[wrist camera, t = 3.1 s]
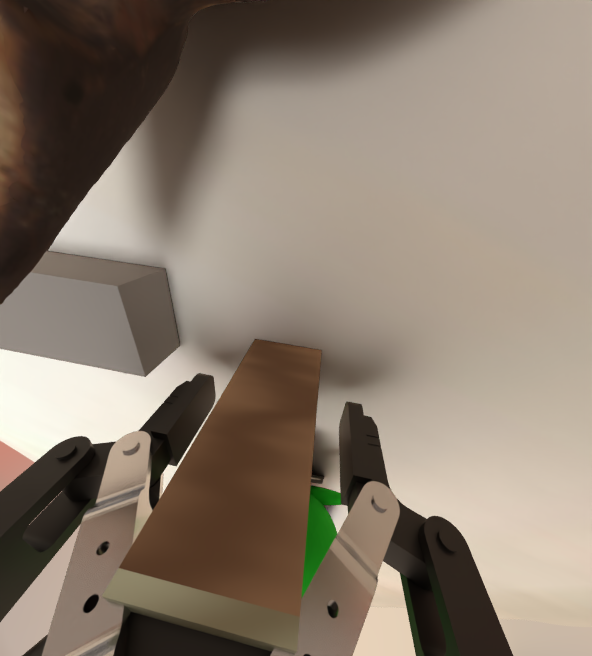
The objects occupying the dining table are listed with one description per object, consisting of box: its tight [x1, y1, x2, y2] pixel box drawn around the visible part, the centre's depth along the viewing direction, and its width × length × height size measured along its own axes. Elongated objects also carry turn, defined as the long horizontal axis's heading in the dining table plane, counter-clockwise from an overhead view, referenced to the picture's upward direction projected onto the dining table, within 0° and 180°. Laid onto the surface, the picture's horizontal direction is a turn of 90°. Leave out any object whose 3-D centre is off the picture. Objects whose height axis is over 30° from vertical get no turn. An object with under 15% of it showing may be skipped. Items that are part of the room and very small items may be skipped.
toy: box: [301, 475, 341, 597], centre depth 17 cm, size 8×8×15 cm
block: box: [102, 339, 322, 653], centre depth 10 cm, size 4×4×10 cm
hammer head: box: [0, 251, 180, 377], centre depth 12 cm, size 10×5×3 cm, turn 84°
